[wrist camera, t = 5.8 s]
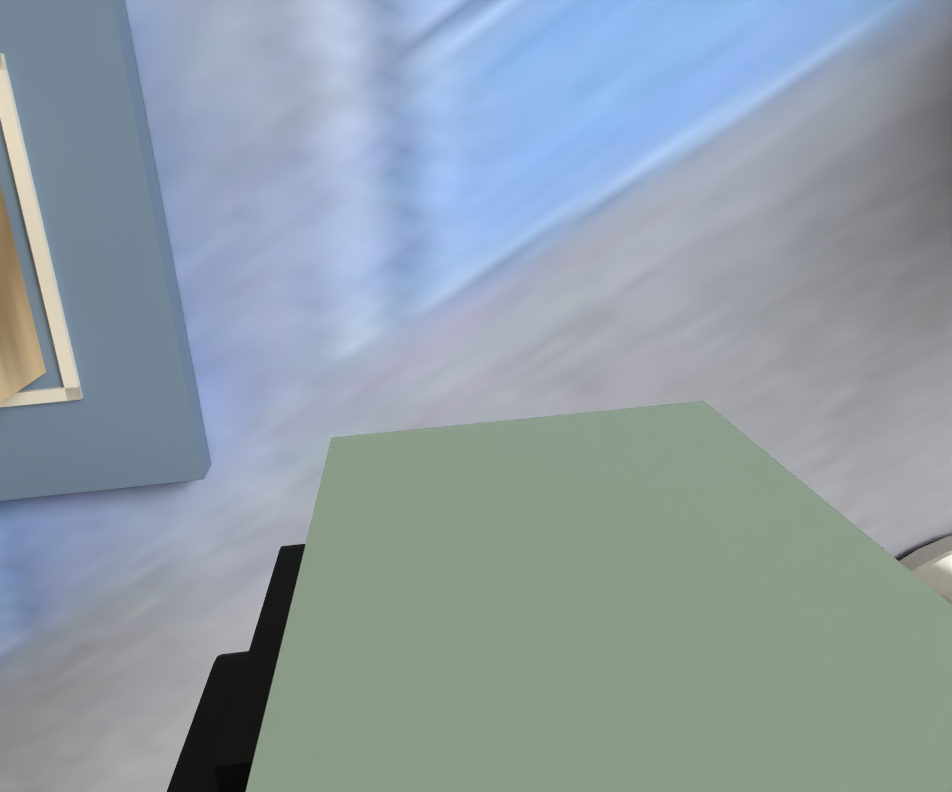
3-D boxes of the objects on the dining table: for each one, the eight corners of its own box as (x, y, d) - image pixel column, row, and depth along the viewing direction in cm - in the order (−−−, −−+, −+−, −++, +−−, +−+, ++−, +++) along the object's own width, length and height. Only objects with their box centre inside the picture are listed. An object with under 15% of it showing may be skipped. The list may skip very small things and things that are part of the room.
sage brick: (701, 711, 12) (1048, 1360, 6) (373, 752, 12) (340, 1486, 5) (704, 401, 11) (1173, 789, 4) (331, 437, 11) (215, 917, 4)
